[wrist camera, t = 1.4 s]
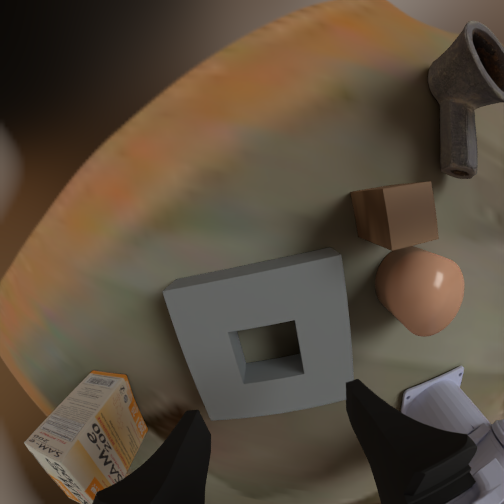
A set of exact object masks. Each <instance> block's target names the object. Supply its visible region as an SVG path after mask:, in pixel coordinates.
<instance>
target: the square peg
mask: <svg viewBox="0 0 504 504" xmlns="http://www.w3.org/2000/svg"><path fill="white" fill-rule="evenodd" d="M350 193H351V198H352V203H353V209H354V214H355V220H356V226H357V232H358V237H360V238H362V239H365V240H367V241H370V242H372V243H375V244H377V245H380V246H382V247H384V248H387V249H389V250H392V251H393V250H397V249H401V248H405V247H409V246H413V245H417V244H421V243H425V242H428V241H432V240H436V239H439V238H438V228H437V218H436V210H435V203H434V196H433V190H432V184H431V181H429V182H418V183H408V184H398V185H389V186H383V187H377V188H371V189H365V190H359V191H354V192H350Z"/></svg>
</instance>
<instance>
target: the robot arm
mask: <svg viewBox="0 0 504 504" xmlns="http://www.w3.org/2000/svg"><path fill="white" fill-rule="evenodd" d="M463 371H464V367H463V366H459V367H457V368H455V369H453V370H451V371H449V372H447V373H445V374H443V375H440V376H438V377H436V378H434V379H431V380H429V381H427V382H424V383H422V384H420V385H417V386H415V387H412V388H409V389H407V390H406V391H404V393H403V399H402V407H401V412H400V411H398V410H396V409H395V408H393V407H392V406H390V405H389V404H388V403H386V402H385V401H383V400H382V399H381V398H380V397H378V396H377V395H376V394H375V393H373V392H372V391H371V390H370V389H369V388H368V387H366V386H365V385H364V384H363V383H362V382H361V381H360V380H359V379H356V380H353V381H349V382H346V410H347V413H348V416H349V419H350V422H351V425H352V428H353V430H354V432H355V434H356V436H357V438H358V440H359V442H360V444H361V446H362V448H363V450H364V453H365V455H366V457H367V459H368V461H369V464H370V467H371V470H372V473H373V476H374V479H375V482H376V486H377V489H378V493H379V497H380V500H381V504H504V419H503V420H496V421H495V422H494V424H491V423H490V422H489V421H488V420H487V419H486V417H485V416H484V415H483V414H482V413H481V411H480V410H479V409H478V408H477V407H476V406H475V404H474V403H473V402H472V401H471V400H470V399H469V398H468V396H467V395H466V394H465V393H464V392H463V391H462V390H461V389H460V384H461V380H462V376H463ZM210 453H211V434H210V432H209V430H208V428H207V426H206V424H205V422H204V420H203V418H202V416H201V414H200V412H199V410H189V411H186V412H185V414H184V415H183V417H182V418H181V420H180V421H179V422H178V424H177V425H176V427H175V428H174V430H173V431H172V432H171V434H170V435H169V436H168V438H167V439H166V440H165V441H164V443H163V444H162V445H161V446H160V447H159V448H158V450H157V451H156V452H155V453H154V454H153V455H152V456H151V457H150V458H149V459H148V460H147V461H146V462H145V463H144V464H143V465H141V466H140V467H139V468H138V469H136V470H135V471H134V472H132V473H131V474H130V475H128V476H127V477H125V478H124V479H122V480H120V481H119V482H117V483H115V484H113V485H111V486H109V487H107V488H105V489H103V490H101V491H98V492H97V493H96V495H95V498H94V500H93V503H92V504H205V484H206V478H207V472H208V466H209V459H210Z"/></svg>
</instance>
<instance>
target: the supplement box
mask: <svg viewBox="0 0 504 504" xmlns="http://www.w3.org/2000/svg"><path fill="white" fill-rule="evenodd" d="M147 431H148V428H147V426H146V424H145V422H144V420H143V417H142V415H141V413H140V411H139V409H138V406H137V404H136V401H135V399H134V396H133V393H132V390H131V387H130V384H129V381H128V378H127V375H125V374H116V373H108V372H103V371H102V372H101V371H95V370H93V371H92V372H91V373H90V374H89V375H88V376H87V377H86V378H85V379H84V380H83V381H82V382H81V383H80V384H79V385H78V386H77V387H76V388H75V389H74V390H73V391H72V392H71V393H70V394H69V395H68V396H67V397H66V398H65V399H64V400H63V402H62V403H61V404H60V405H59V406H58V407H57V408H56V409H55V410H54V411H53V412H52V413H51V414H50V415H49V416H48V417H47V418H46V419H45V421H44V422H43V423H42V424H41V425H40V426H39V427H38V428H37V429H36V430H35V432H33V434H32V435H31V436H30V437H29V438H28V439H27V440H26V441H25V442H24V444H25V445H26V446H27V448H28V449H29V451H30V452H31V453H32V454H33V456H34V457H35V458H36V460H37V461H38V462H39V463H40V465H41V466H42V467H43V468H44V470H45V471H46V472H47V473H48V475H49V476H50V477H51V478H52V479H53V480H54V481H55V482H56V484H57V485H58V486H59V487H60V488H61V489H62V490H63V491H64V493H65V494H66V495H67V496H68V497H69V498H71V499H73V500H75V501H77V502H79V503H81V504H92V503H93V500H94V498H95V495H96V493H97V492H98V491H101V490H103V489H105V488H107V487H109V486H111V485H113V484H115V483H117V482H119V481H120V480H122V479H124V477H125V475H126V473H127V471H128V469H129V467H130V465H131V463H132V461H133V459H134V457H135V455H136V453H137V451H138V449H139V447H140V445H141V443H142V441H143V439H144V437H145V435H146V433H147Z"/></svg>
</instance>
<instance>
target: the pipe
mask: <svg viewBox="0 0 504 504" xmlns="http://www.w3.org/2000/svg"><path fill="white" fill-rule="evenodd" d="M428 84H429V88H430V91H431V93H432V94H433V96H434V97H435V98H436V100H437V101H438V103H439V104H440V142H441V158H440V160H441V171H442V173H445V174H447V175H450V176H452V177H455V178H459V179H470V178H472V177H473V176H474V175H476V173H477V138H476V127H475V113H474V110H475V109H477V108H479V107H482V106H486V105H490V104H494V103H499V102H504V48H503V46H502V45H501V43H500V42H499V40H498V39H497V38H496V36H495V35H494V34H493V33H492V31H491V30H490V29H488V28H487V27H486V26H485V25H483V24H481V23H480V22H476V21H470V22H468V23H467V24H466V25H465V27H464V29H463V31H462V32H461V33H460V35H459V36H458V37H457V39H456V40H455V41H454V42H453V43H452V45H451V46H450V47H449V48H448V49H447V50H446V51H445V52H444V53H443V54H442V55H441V56H440V57H439V58H438V59H436V60H435V61H434V62H433V63H432V65H431V66H430V68H429V73H428Z"/></svg>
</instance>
